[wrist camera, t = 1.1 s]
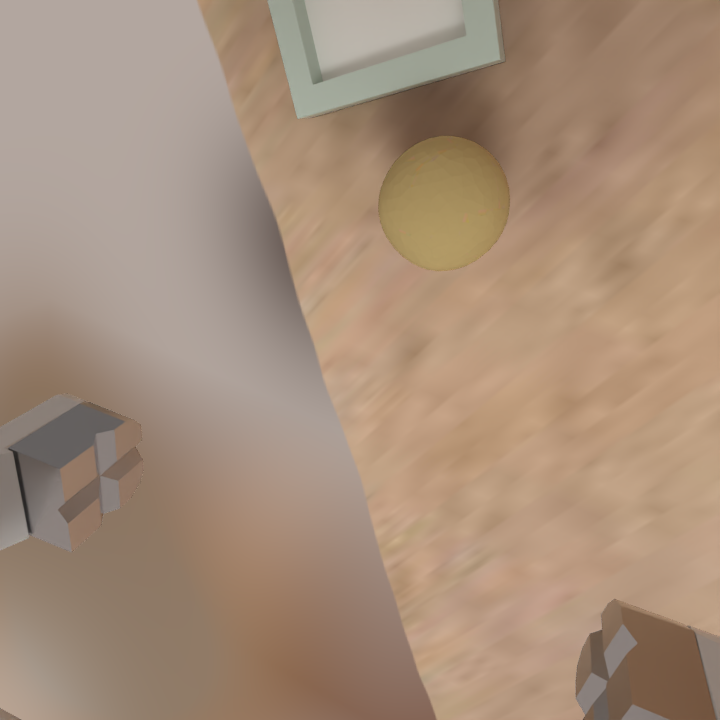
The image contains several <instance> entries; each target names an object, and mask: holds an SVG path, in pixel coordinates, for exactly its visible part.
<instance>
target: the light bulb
mask: <svg viewBox="0 0 720 720" xmlns="http://www.w3.org/2000/svg"><path fill="white" fill-rule="evenodd" d="M509 207H510V195H509V187H508V183H507V180H506V176H505V174H504V172H503V170H502V168H501V166H500V164H499V163H498V162H497V161H496V159H495V158H494V157H493V156H492V155H491V154H490V153H489V152H488V151H487V150H486V149H485V148H483V147H482V146H480V145H478V144H477V143H475V142H473V141H470V140H468V139H465V138H461V137H455V136H438V137H433V138H429V139H426V140H424V141H421V142H419V143H417V144H415V145H414V146H412V147H411V148H410V149H408V150H407V151H405V152H404V153H403V154H402V155H401V156H400V157H399V158H398V159H397V160H396V161H395V162H394V164H393V165H392V167H391V168H390V170H389V171H388V173H387V175H386V177H385V179H384V182H383V185H382V187H381V190H380V195H379V205H378V212H379V217H380V222H381V225H382V228H383V231H384V233H385V235H386V237H387V239H388V240H389V241H390V243H391V244H392V246H393V247H394V248H395V249H396V250H397V251H398V252H399V253H400V254H401V255H402V256H403V257H404V258H405V259H407V260H408V261H410V262H411V263H413V264H415V265H417V266H419V267H421V268H424V269H427V270H434V271H448V270H454V269H458V268H461V267H464V266H467V265H468V264H470V263H472V262H474V261H476V260H477V259H479V258H480V257H481V256H483V255H484V254H485V253H486V252H488V251H489V250H490V248H491V247H492V246H493V245H494V244H495V243H496V242H497V240H498V238H499V237H500V235H501V234H502V232H503V229H504V227H505V225H506V222H507V218H508V214H509Z"/></svg>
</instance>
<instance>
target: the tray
mask: <svg viewBox="0 0 720 720" xmlns="http://www.w3.org/2000/svg"><path fill="white" fill-rule="evenodd" d="M267 1H268V5H269V9H270V12H271V16H272V20H273V24H274V28H275V32H276V36H277V40H278V44H279V48H280V52H281V56H282V60H283V64H284V68H285V72H286V76H287V79H288V83H289V87H290V91H291V95H292V99H293V103H294V107H295V111H296V115H297V119H303V118H313V117H317V116H320V115H323V114H327V113H330V112H334V111H337V110H341V109H344V108H348V107H351V106H354V105H358V104H361V103H365V102H368V101H372V100H375V99H378V98H382V97H385V96H389V95H392V94H396V93H399V92H402V91H406V90H409V89H413V88H416V87H420V86H423V85H427V84H430V83H433V82H437V81H440V80H444V79H447V78H451V77H454V76H457V75H461V74H464V73H468V72H471V71H475V70H478V69H481V68H485V67H488V66H492V65H495V64H499V63H502V62H505V53H504V45H503V37H502V28H501V20H500V11H499V3H498V0H267Z"/></svg>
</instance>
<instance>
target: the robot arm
mask: <svg viewBox="0 0 720 720" xmlns="http://www.w3.org/2000/svg"><path fill="white" fill-rule="evenodd" d="M141 441H142V431H141V425H140V424H139V423H137V422H136V421H135V420H133V419H131V418H128V417H126V416H123V415H121V414H118V413H116V412H113V411H111V410H108V409H106V408H103V407H101V406H98V405H96V404H93V403H91V402H86V401H84V400H82V399H79V398H77V397H74V396H72V395H70V394H59V395H56V396H54V397H52V398H51V399H49V400H47V401H45V402H43V403H42V404H40V405H38V406H36V407H35V408H33V409H31V410H29V411H28V412H26V413H24V414H22V415H21V416H19V417H17V418H16V419H14V420H12V421H10V422H8V423H7V424H5V425H3V426H1V427H0V550H2V549H4V548H6V547H9V546H11V545H14V544H16V543H18V542H21V541H23V540H25V539H28V538H29V535H31V536H33V537H36V538H38V539H40V540H43V541H45V542H48V543H50V544H53V545H55V546H58V547H60V548H62V549H65V550H67V551H70V552H73V551H74V550H75V549H76V548H77V547H78V546H79V545H81V544H82V543H83V542H84V541H85V540H86V539H87V538H88V537H89V536H90V535H91V534H93V533H94V532H95V531H96V530H97V529H98V528H99V527H100V526H101V525H102V519H103V514H104V513H107V512H110V511H113V510H116V509H119V508H121V507H122V506H123V505H124V504H125V503H126V502H127V501H128V500H129V499H130V498H131V497H132V496H133V494H134V492H135V490H136V489H137V487H138V486H139V484H140V482H141V478H142V474H143V458H142V457H141V455H140V454H139V452H138V450H137V449H136V446H137V445H138V444H139V443H140V442H141ZM601 620H602V630H600V631H597V632H594V633H591V634H589V636H588V638H587V640H586V642H585V644H584V646H583V648H582V651H581V654H580V658H579V661H578V665H577V672H576V700H577V702H578V703H579V705H580V707H581V708H582V710H583V712H584V714H585V717H584V718H583V720H720V637H719V636H716V635H714V634H711V633H708V632H705V631H702V630H700V629H697V628H694V627H691V626H686V625H684V624H682V623H680V622H677V621H674V620H671V619H669V618H666V617H663V616H660V615H658V614H655V613H652V612H649V611H647V610H644V609H641V608H638V607H636V606H633V605H630V604H627V603H625V602H622V601H619V600H616V599H614V600H612V601H611V602H609V603H608V604H607V606H606V608H605V609H604V611H603V612H602V614H601ZM0 720H21V719H19V718H17V717H16V716H14V715H12V714H10V713H8V712H6V711H4V710H3V709H1V708H0Z"/></svg>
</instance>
